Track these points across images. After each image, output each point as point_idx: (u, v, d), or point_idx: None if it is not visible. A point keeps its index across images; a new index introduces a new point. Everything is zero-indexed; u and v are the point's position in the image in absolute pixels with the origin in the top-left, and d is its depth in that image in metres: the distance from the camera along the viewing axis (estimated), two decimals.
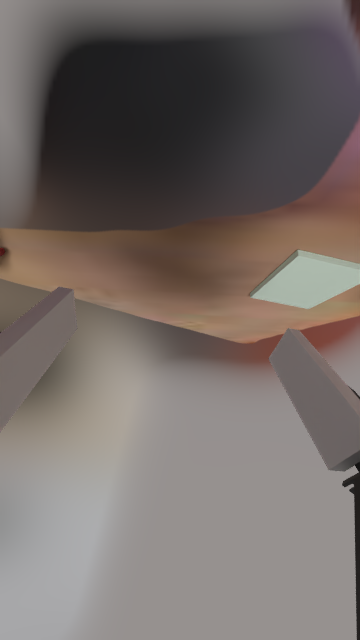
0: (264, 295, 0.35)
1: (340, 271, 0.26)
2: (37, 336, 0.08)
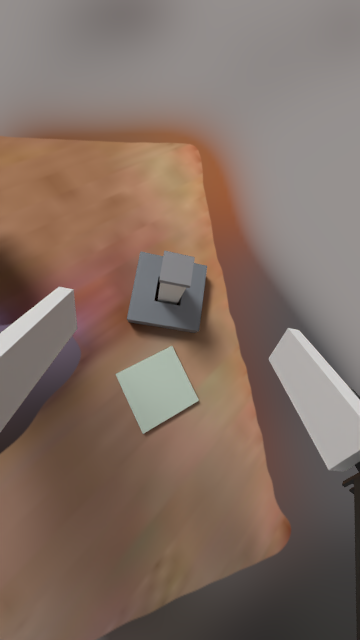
0: (148, 420, 0.36)
1: (153, 361, 0.38)
2: (37, 336, 0.08)
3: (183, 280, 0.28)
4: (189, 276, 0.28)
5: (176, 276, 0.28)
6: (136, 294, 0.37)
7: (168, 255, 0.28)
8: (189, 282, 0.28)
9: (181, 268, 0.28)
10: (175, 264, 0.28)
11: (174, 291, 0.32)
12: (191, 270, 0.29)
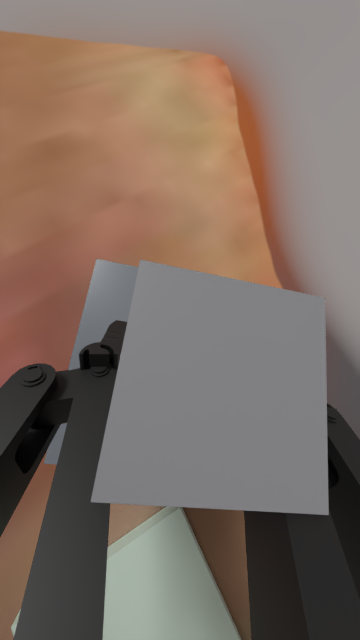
0: None
1: (127, 564, 0.14)
2: None
3: (277, 476, 0.04)
4: (313, 433, 0.04)
5: (223, 451, 0.04)
6: None
7: (164, 292, 0.04)
8: (318, 486, 0.04)
9: (253, 379, 0.04)
10: (215, 353, 0.04)
11: None
12: (319, 388, 0.04)
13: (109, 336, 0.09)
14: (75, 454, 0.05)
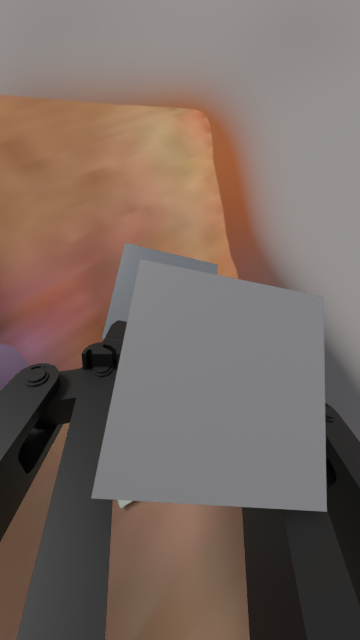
0: None
1: None
2: None
3: (275, 473, 0.04)
4: (312, 430, 0.04)
5: (222, 448, 0.04)
6: (117, 302, 0.26)
7: (164, 291, 0.04)
8: (316, 483, 0.04)
9: (252, 377, 0.04)
10: (214, 352, 0.04)
11: None
12: (317, 386, 0.04)
13: (111, 336, 0.09)
14: (78, 454, 0.05)
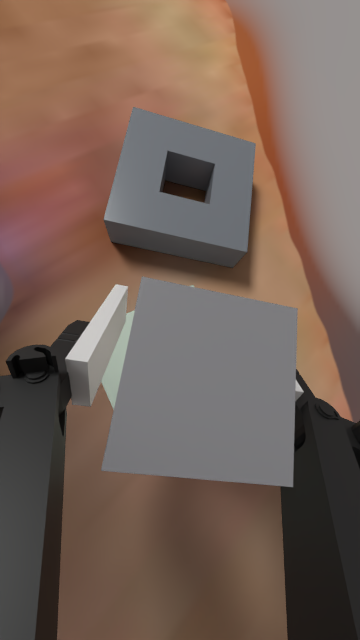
0: None
1: None
2: (112, 324, 0.10)
3: (251, 455, 0.05)
4: (283, 420, 0.05)
5: (208, 434, 0.05)
6: (125, 176, 0.19)
7: (162, 304, 0.05)
8: (285, 463, 0.05)
9: (234, 376, 0.05)
10: (202, 354, 0.05)
11: None
12: (289, 384, 0.05)
13: (64, 337, 0.08)
14: (4, 473, 0.04)
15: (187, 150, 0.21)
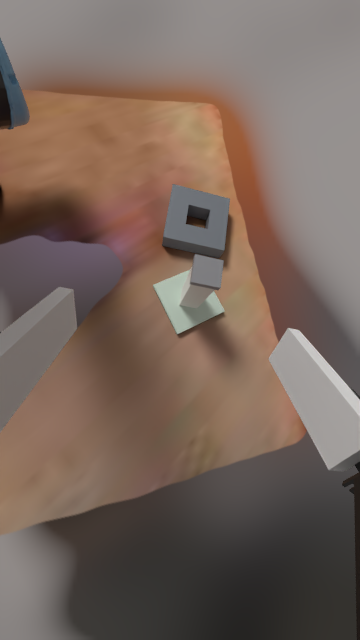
0: (181, 323, 0.42)
1: (184, 276, 0.44)
2: (37, 336, 0.08)
3: (213, 282, 0.29)
4: (219, 278, 0.29)
5: (206, 279, 0.29)
6: (170, 217, 0.43)
7: (198, 258, 0.30)
8: (219, 284, 0.29)
9: (211, 271, 0.29)
10: (205, 267, 0.29)
11: (201, 293, 0.33)
12: (221, 273, 0.30)
13: None
14: None
15: (197, 204, 0.45)
